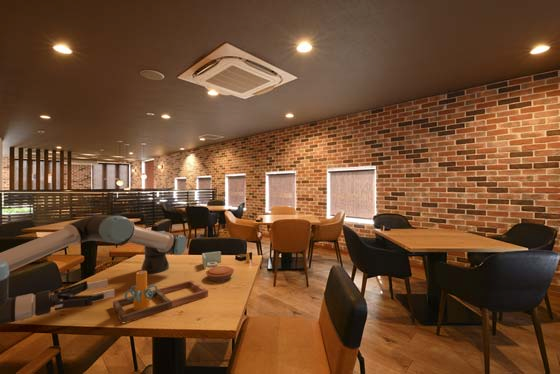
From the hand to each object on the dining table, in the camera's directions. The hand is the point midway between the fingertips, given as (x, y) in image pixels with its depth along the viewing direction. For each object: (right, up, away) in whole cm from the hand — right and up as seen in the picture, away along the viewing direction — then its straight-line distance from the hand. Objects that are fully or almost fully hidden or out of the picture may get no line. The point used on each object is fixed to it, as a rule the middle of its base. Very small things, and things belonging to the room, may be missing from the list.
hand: (110, 287), depth 98 cm
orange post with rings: (+8, -12, +8) cm, 16 cm away
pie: (+33, -12, +42) cm, 55 cm away
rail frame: (+14, -12, +14) cm, 23 cm away
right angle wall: (+23, -12, +64) cm, 69 cm away
